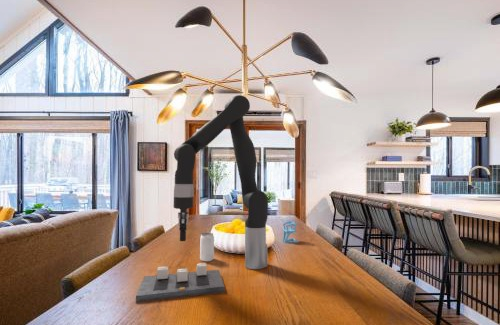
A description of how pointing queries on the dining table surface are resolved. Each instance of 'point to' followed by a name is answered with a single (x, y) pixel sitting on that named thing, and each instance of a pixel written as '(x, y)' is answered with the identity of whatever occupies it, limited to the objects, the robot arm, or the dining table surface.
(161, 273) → the breaker
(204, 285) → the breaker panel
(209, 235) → the can
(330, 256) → the dining table surface
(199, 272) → the breaker
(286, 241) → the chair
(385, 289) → the dining table surface
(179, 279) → the breaker
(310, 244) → the dining table surface
